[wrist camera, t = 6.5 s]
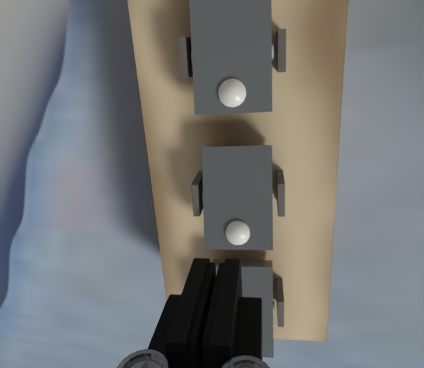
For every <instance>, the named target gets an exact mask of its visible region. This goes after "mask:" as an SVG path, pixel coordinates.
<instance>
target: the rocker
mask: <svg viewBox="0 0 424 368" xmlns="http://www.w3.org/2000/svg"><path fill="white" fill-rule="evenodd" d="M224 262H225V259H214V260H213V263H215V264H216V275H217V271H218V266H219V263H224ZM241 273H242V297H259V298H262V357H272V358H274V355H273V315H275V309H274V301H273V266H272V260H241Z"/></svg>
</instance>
